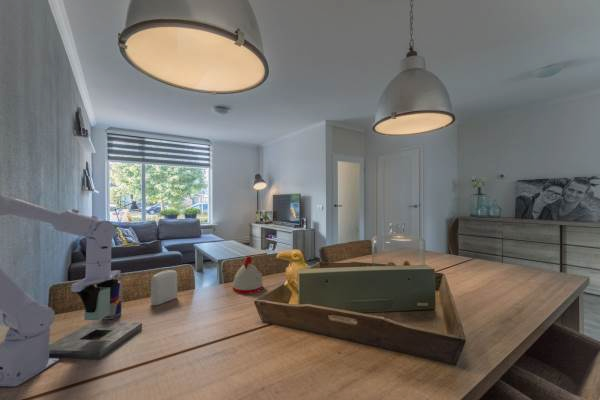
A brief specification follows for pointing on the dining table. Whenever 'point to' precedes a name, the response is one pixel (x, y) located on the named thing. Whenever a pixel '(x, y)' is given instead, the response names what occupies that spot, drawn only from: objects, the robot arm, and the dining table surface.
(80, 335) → the socket plate
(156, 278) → the photo printer
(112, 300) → the energy drink
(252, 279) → the kitchen timer
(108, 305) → the green rectangular block
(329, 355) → the dining table surface
